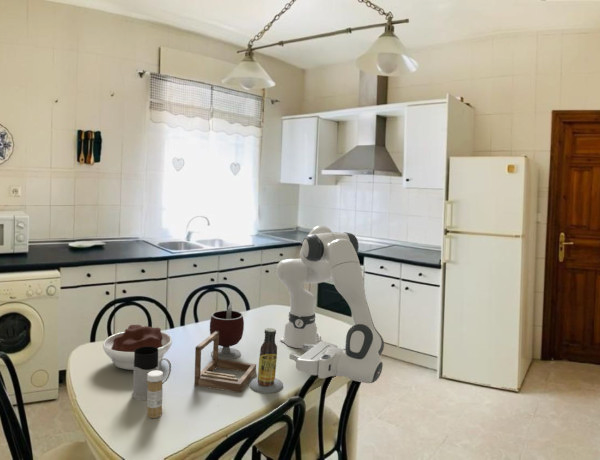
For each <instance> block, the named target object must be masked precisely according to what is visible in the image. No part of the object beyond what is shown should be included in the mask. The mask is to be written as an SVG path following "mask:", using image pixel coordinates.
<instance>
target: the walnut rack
mask: <svg viewBox="0 0 600 460" xmlns="http://www.w3.org/2000/svg"><path fill="white" fill-rule="evenodd" d="M213 340H214V341H213ZM211 343H213V345H212V346H213V349H212V351H213V357H212V360H211V361H210V362H209V363H208V364H207V365H206V366H205V367H204V368H203V369H201V368H202V367H201V365H202V351H203V349H204V348H206V347H207V346H208V345H210V344H211ZM219 348H220V347H219V332H218V331H215V332H214V333H212V334H211V335H209V336H208V337H206V338H205V339H204V340H202V341H201V342H200V343H199V344H198V345H196V346H195V348H194V349H195V353H194V354H195V356H194V384H193V385H194V386H195V387H202V388H206V389H207V388H209V389H214V390H215V389H216V390H223V391H228V392H234V393H241V392H242V391H243V389H245V386H247V384H249V383H250V381H251V380H252V378H253V376H254V375H255V373H256V372H257V363H249V362H244V361H243V362H242V361H237V360H236V361H235V360H222V359H218V349H219ZM216 369H223V370H229V371H237V372H243V373H244V374H243V375H242V376H241V378H240V379H238V382H236V381H229V380H222V379H216V378H209V377H202V376H203V373H206V371H210V372H215V370H216Z"/></svg>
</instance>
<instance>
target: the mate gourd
mask: <svg viewBox="0 0 600 460" xmlns="http://www.w3.org/2000/svg"><path fill="white" fill-rule="evenodd" d="M232 305H233V302H230V303H229V305H228V306H227V309H225V310H224V309H223V310H217V311H214V312H212V313H211V317H210V322H209V334H210V335H211V334H212V333H214V332H215V331H218V332H219V346H220V347H218V359H222V360H229V361H235V360H236V359H239V358H240V357H241V354H242V353H241V351H240V350H239V349H238V348H234V347H233V346H236V345H238V344H239V343H240V341H241V340H242V339H243V336H244V335H243V334H244V330H245V328H244V327H245V322H244V321H245V320H244V314H243V313H242V312H240V311H236V310H233V306H232ZM210 335H209V336H210ZM212 342H214V340H213V341H212ZM210 357H211V358H213V350H212V351H211V352H210Z"/></svg>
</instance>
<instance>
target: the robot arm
mask: <svg viewBox="0 0 600 460" xmlns="http://www.w3.org/2000/svg"><path fill="white" fill-rule="evenodd" d="M359 247H360V246H359V240H358V238H357V237H356V236H355V234H353V233H351V232H333V231H332V229H330V228H329V227H328V226H326V225H316V226H315V227H313V228H312V229H311V230H310V232H309V233H308V234H307V235H306V236H305V237H304V238H303V240H302V246H301V247H300V251H299V258H288V259H287V258H286V259H282V260H280V261H279V262H278V263H277V266H276V268H275V269H276V270H275V271H276V272H275V275H276V277H277V279H278V280H279V281H280V282H281V283H282V284H283V285H284V286H285V287H286V289H287V291H288V293H289V301H290V302H289V305H290V308H289V311H288V321H287V322H286V323H285V325H284V335H283V336H281V337H280V340H279V341H280V342H282V343H284V344H285V345H287V346H289V347H291V348H295V349H301V350H302V351H305V353H303V354H301V355H297V353H294V352H291V353H290V354H289V359H290V360H292V361H294V362H295V363H296V366H295V367H296V369H297V370H298V371H299V372H301V373H305V374H308V375H311V376H317V377H318V378H319V379H321V380H324V379H326V378H329V377H334V376H337V377H339V378H340V377H341V378H344V377H345V378H348V379H349V380H351V381H354V382H359V383H364V384H373V383H375V382H377V381H378V379H379V378H380V376H381V374H382V371H383V365H384V364H383V361H382V359H381V357H380V356H381V355H382V353H383V351H384V349H385V342H384V339H383V336H382V335H381V334H380V333H379V332H378V330H377V328H376V327H375V325H374V322H373V318H372V314H371V312H370V308H369V305H368V301H367V300H368V299H367V295H366V291H365V285H364V279H363V278H364V277H363V272H362V267H361V263H360V259H359V257H358V253H359V249H360V248H359ZM329 280H332V283H333V285H334V288H335V289H336V291H337V292H338V293H339V294H340V295H341V296H342V298H343V299H344V300H345V301H346V303H347V305H348V306H349V309H350V311H351V314H352V319H353V322H354V325H352V326H351V327H350V328H349V329H348V331H347V332H346V337H345V349H344V348H340V347H338V346H337V345H336V344H334V343H331V342H328V341H325V340H322V341H321V333H320V332H318V326H317V323H316V312H315V307H316V298H315V297H316V296H315V295H314V294H313V292H311V291H309V290H307V289H305V288H304V284H321V283H325V282H329Z"/></svg>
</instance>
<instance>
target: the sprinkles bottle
mask: <svg viewBox="0 0 600 460" xmlns="http://www.w3.org/2000/svg"><path fill="white" fill-rule="evenodd" d="M163 379H164V372H163V371H162V370H155V371H151V372H149V373H148V374H147V380H148V389H147V401H146V406H147V410H146V411H147V413H146V416H147V417H148V418H151V419H155V418H156V419H157V418H160V417H161V416H162V414H163V411H162V410H163V408H162V407H163V384H162V383H163Z"/></svg>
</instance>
